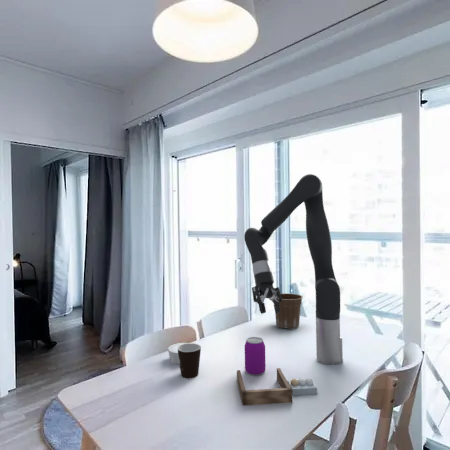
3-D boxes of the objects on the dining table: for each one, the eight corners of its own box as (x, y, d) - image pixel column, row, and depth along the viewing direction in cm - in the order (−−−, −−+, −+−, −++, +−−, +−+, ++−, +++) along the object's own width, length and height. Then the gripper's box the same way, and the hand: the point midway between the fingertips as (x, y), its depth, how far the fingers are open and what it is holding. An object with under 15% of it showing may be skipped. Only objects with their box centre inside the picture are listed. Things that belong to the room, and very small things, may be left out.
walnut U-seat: (280, 379, 115) (279, 368, 115) (292, 402, 100) (292, 389, 100) (236, 381, 114) (236, 370, 114) (242, 405, 98) (242, 392, 99)
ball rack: (310, 384, 111) (310, 373, 111) (316, 393, 105) (316, 382, 105) (287, 386, 110) (287, 374, 110) (292, 395, 104) (292, 383, 104)
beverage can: (261, 366, 126) (261, 335, 126) (268, 375, 118) (267, 342, 118) (242, 368, 124) (242, 337, 124) (248, 377, 117) (247, 344, 117)
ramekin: (194, 366, 127) (194, 352, 127) (165, 366, 127) (165, 353, 127) (196, 354, 139) (196, 342, 139) (170, 355, 139) (170, 342, 139)
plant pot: (286, 319, 188) (285, 291, 188) (309, 326, 175) (308, 296, 175) (266, 325, 177) (266, 295, 178) (289, 332, 165) (288, 300, 165)
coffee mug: (197, 380, 115) (197, 352, 115) (174, 379, 117) (174, 351, 117) (206, 366, 126) (205, 341, 126) (184, 365, 128) (184, 339, 128)
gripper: (257, 269, 127) (265, 310, 120) (280, 271, 136) (289, 310, 129) (244, 275, 132) (251, 315, 125) (267, 277, 141) (276, 315, 134)
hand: (270, 313), depth 127 cm, fingers open, 8 cm apart
